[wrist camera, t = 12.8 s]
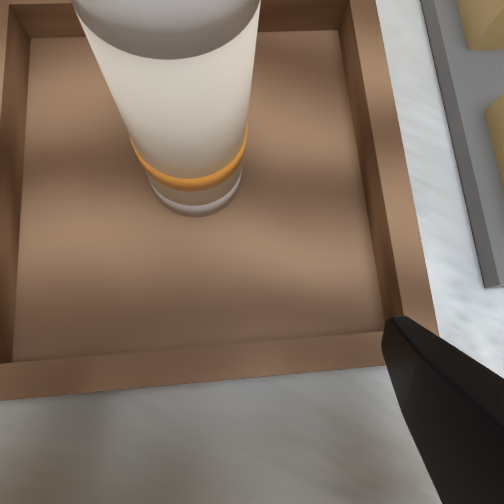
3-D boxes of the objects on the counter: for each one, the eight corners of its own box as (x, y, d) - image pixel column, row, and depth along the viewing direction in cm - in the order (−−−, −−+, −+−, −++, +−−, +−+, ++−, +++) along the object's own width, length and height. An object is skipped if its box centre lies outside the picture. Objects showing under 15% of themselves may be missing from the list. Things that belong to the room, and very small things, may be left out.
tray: (412, 358, 17) (443, 359, 14) (-14, 396, 15) (-59, 406, 13) (354, 19, 21) (370, -24, 18) (12, 27, 19) (-19, -18, 17)
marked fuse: (246, 215, 17) (284, -2, 7) (150, 221, 17) (27, 1, 6) (237, 131, 18) (260, -178, 7) (147, 135, 18) (36, -185, 7)
